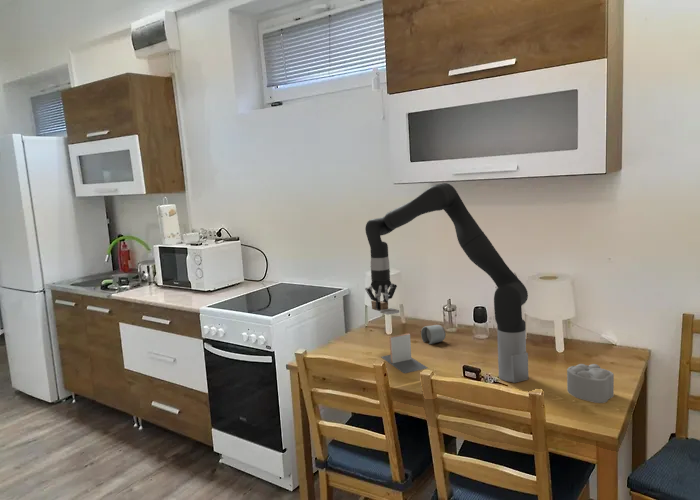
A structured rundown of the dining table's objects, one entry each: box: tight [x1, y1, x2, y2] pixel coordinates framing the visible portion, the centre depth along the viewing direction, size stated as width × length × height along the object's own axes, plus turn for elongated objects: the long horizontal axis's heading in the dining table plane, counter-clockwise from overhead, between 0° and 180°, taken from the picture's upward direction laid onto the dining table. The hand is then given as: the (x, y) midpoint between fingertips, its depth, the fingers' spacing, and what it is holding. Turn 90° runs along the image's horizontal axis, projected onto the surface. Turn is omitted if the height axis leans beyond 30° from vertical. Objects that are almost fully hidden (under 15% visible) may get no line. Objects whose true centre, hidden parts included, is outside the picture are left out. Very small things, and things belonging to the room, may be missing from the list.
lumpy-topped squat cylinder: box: [566, 363, 615, 404], centre depth 165 cm, size 10×13×9 cm
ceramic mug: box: [420, 324, 447, 345], centre depth 225 cm, size 11×8×8 cm
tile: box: [389, 332, 412, 363], centre depth 203 cm, size 2×8×10 cm, turn 112°
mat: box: [380, 354, 429, 374], centre depth 202 cm, size 20×10×1 cm, turn 22°
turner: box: [371, 300, 400, 316], centre depth 213 cm, size 18×5×4 cm, turn 22°
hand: (382, 309), depth 215 cm, fingers closed on turner, 2 cm apart
